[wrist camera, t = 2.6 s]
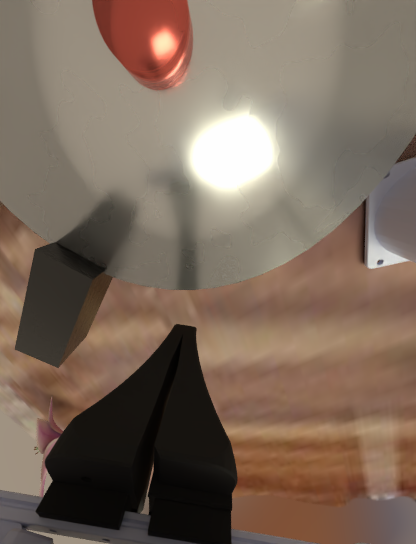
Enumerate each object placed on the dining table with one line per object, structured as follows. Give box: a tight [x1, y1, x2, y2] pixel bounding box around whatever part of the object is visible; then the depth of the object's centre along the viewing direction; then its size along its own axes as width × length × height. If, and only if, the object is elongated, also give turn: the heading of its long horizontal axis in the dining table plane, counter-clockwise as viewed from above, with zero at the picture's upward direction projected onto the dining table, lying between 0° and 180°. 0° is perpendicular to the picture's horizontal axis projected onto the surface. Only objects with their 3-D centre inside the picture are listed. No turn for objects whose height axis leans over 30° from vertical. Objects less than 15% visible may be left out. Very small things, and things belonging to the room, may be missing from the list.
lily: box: [34, 397, 63, 497], centre depth 28 cm, size 12×12×10 cm
